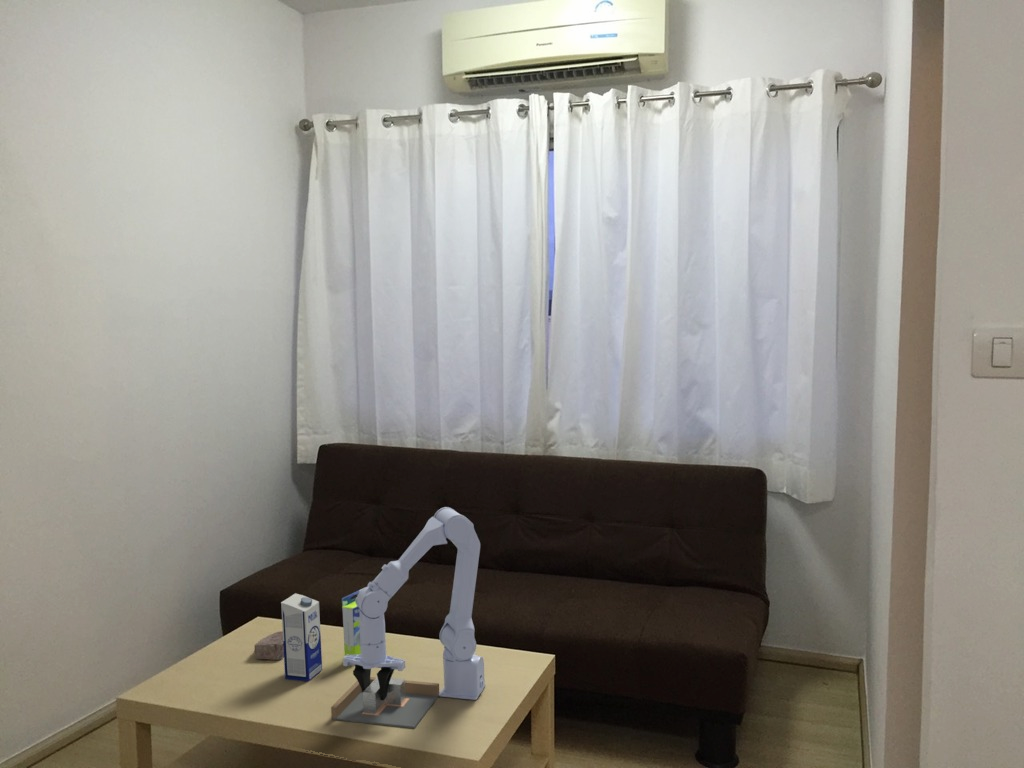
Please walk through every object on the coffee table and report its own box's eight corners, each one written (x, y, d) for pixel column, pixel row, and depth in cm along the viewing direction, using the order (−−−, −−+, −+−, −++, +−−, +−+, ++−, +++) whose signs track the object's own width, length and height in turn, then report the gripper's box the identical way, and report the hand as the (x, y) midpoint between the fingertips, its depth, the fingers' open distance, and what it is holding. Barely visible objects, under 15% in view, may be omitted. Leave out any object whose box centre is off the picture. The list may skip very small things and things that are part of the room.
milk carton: (299, 667, 212) (295, 592, 210) (322, 669, 210) (319, 594, 209) (284, 679, 205) (280, 601, 204) (308, 681, 204) (304, 603, 202)
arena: (439, 695, 194) (439, 683, 194) (414, 728, 179) (414, 715, 179) (362, 687, 199) (361, 676, 199) (331, 719, 184) (331, 707, 184)
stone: (267, 643, 229) (266, 627, 228) (299, 643, 228) (298, 627, 228) (251, 661, 217) (250, 644, 217) (284, 661, 216) (283, 644, 216)
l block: (378, 696, 193) (377, 676, 193) (405, 699, 191) (405, 679, 191) (363, 713, 185) (362, 692, 185) (392, 716, 184) (391, 694, 183)
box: (355, 665, 212) (352, 601, 211) (342, 662, 214) (340, 598, 213) (380, 650, 221) (377, 588, 220) (368, 647, 223) (365, 586, 222)
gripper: (335, 644, 185) (338, 702, 186) (395, 649, 181) (398, 708, 182) (349, 632, 191) (352, 688, 193) (407, 637, 188) (409, 694, 189)
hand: (375, 697), depth 188 cm, fingers open, 3 cm apart
